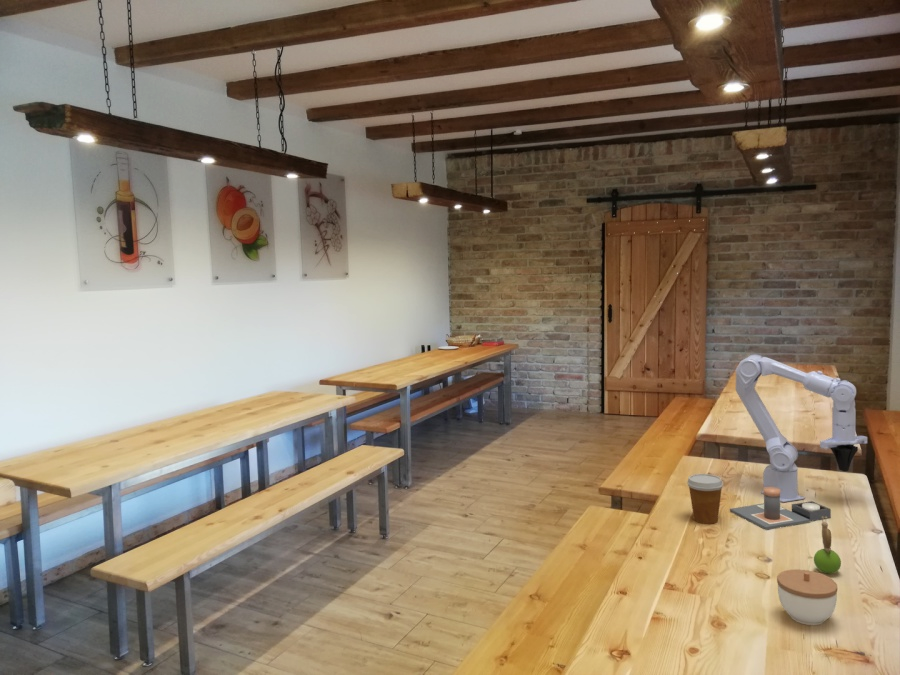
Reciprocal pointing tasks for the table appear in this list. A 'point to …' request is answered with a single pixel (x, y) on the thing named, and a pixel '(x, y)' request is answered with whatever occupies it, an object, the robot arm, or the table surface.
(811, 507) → the button
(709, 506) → the disposable coffee cup
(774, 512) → the grey canister
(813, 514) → the button housing
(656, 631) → the table surface
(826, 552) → the green tan bulb piece
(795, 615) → the lidded jar
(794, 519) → the picture board
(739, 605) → the table surface
